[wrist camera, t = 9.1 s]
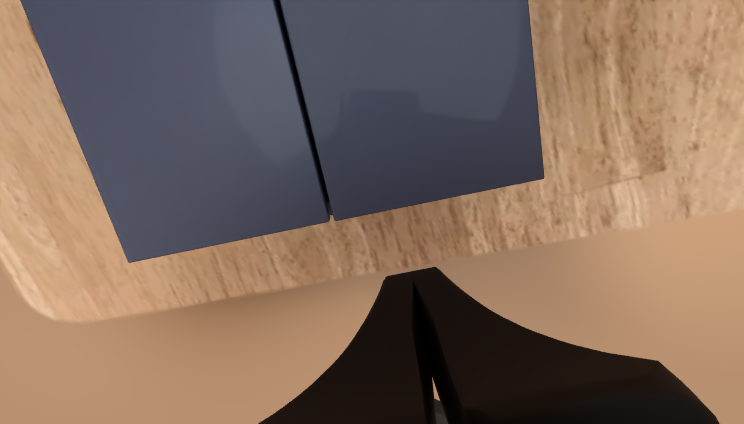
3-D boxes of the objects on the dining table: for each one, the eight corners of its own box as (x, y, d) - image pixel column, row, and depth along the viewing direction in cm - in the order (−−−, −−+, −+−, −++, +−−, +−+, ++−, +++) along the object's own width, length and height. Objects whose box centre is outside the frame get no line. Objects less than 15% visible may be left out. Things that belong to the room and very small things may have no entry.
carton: (486, 136, 21) (547, 180, 14) (201, 195, 22) (126, 265, 15) (440, -225, 17) (494, -415, 10) (87, -139, 17) (-92, -260, 11)
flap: (330, 217, 15) (329, 221, 14) (133, 258, 15) (128, 263, 15) (196, -316, 11) (190, -330, 10) (-72, -248, 11) (-88, -258, 11)
